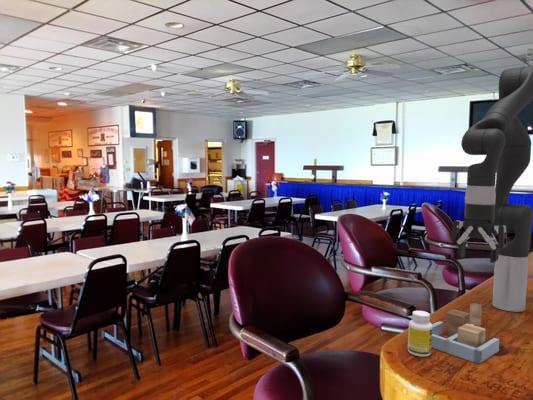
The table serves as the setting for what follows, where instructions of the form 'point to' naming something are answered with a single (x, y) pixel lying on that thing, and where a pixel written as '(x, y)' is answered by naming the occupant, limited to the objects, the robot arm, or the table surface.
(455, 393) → the table surface
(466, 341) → the oak block
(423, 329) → the supplement bottle
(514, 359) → the table surface
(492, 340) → the lane shelf
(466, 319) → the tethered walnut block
